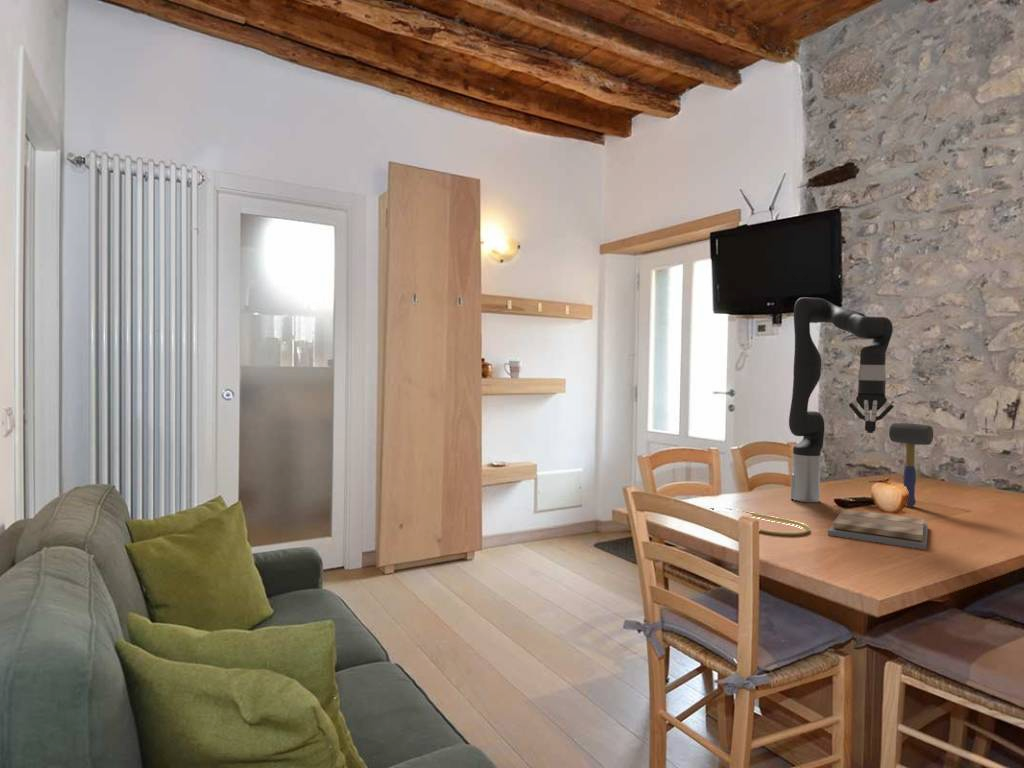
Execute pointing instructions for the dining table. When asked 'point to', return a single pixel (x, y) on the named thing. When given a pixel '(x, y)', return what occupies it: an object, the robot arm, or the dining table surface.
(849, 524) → the near plank
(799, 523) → the serving platter
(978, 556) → the dining table surface
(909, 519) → the far plank
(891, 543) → the panel
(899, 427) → the rubber mallet
